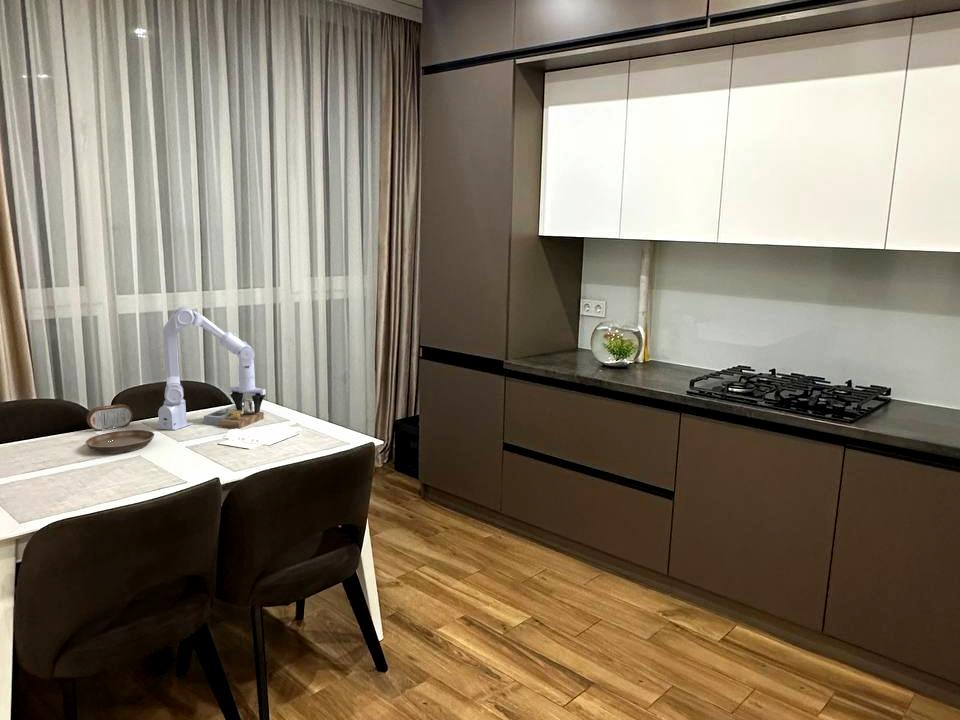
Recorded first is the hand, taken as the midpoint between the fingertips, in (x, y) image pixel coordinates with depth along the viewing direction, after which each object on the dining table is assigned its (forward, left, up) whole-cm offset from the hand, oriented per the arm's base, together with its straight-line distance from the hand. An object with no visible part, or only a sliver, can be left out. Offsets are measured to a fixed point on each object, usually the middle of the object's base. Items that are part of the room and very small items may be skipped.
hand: (248, 411), depth 278 cm
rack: (0, +9, -3) cm, 10 cm away
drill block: (-4, 0, -3) cm, 5 cm away
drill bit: (0, 0, -3) cm, 3 cm away
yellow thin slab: (-8, 0, -2) cm, 8 cm away
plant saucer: (-43, +20, -4) cm, 48 cm away
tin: (-26, +40, -3) cm, 48 cm away
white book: (-18, -17, -4) cm, 25 cm away
